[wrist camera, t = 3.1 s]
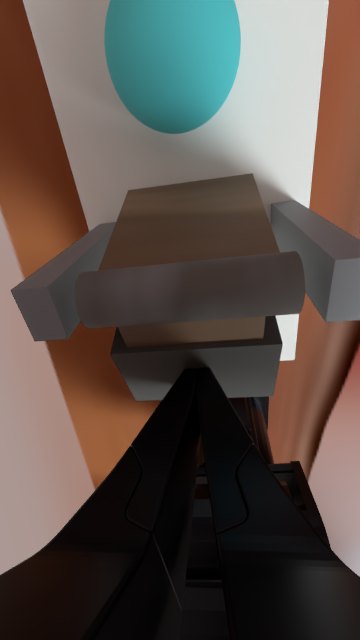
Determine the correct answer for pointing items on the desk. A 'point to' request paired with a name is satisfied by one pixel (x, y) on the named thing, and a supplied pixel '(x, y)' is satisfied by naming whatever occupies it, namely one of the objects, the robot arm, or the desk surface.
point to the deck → (192, 151)
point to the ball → (172, 59)
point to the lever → (194, 288)
